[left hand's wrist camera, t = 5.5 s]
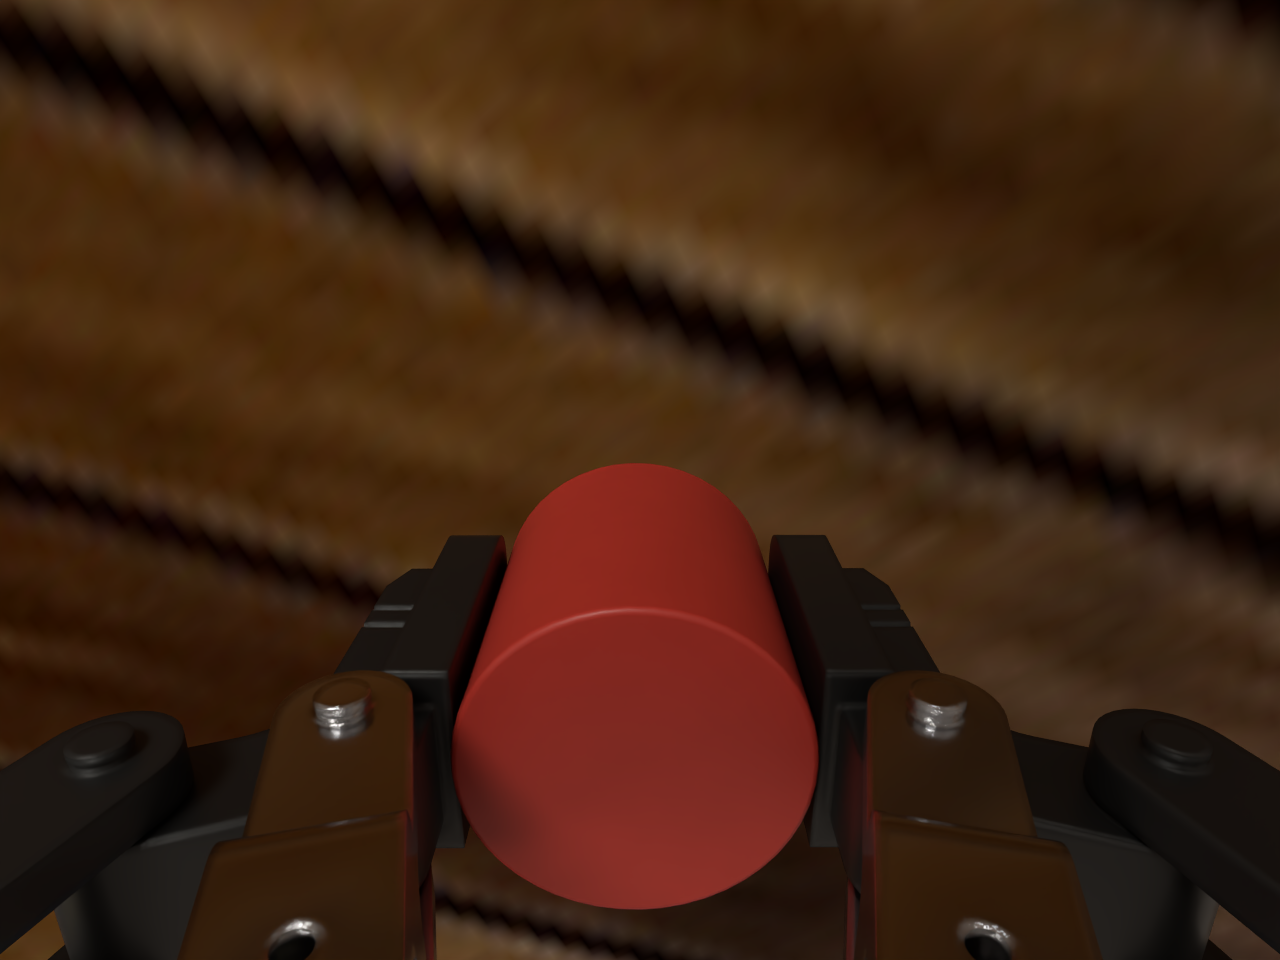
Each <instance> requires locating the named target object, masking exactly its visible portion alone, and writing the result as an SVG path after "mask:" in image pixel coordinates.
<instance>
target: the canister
mask: <svg viewBox="0 0 1280 960" xmlns="http://www.w3.org/2000/svg"><path fill="white" fill-rule="evenodd" d="M450 754H451V771H452V777H453V781H454V786H455V791H456V794H457V797H458V800H459V802H460V805H461V807H462V810H463V812H464V815H465V816H466V818H467V820H468V822H469V823H470V825H471V827H472V829H473V831H474V832H475V833H476V835H477V836H478V837H479V838H480V840H481V841H482V842H483V844H484V845H485V846H486V847H487V848H488V849H489V850H490V851H491V852H492V853H493V854H494V855H495V856H496V857H497V858H498V859H499V860H500V861H501V862H502V863H503V864H504V865H506V866H507V867H508V868H510V869H511V870H512V871H513V872H515V873H516V874H517V875H519V876H521V877H522V878H524V879H526V880H527V881H529V882H530V883H532V884H534V885H536V886H538V887H540V888H542V889H544V890H546V891H548V892H551V893H553V894H555V895H558V896H561V897H564V898H567V899H570V900H573V901H576V902H580V903H585V904H589V905H593V906H598V907H607V908H615V909H639V910H642V909H655V908H665V907H671V906H677V905H682V904H687V903H690V902H694V901H697V900H701V899H704V898H707V897H710V896H712V895H715V894H717V893H720V892H722V891H725V890H727V889H729V888H731V887H732V886H734V885H736V884H738V883H740V882H742V881H744V880H745V879H747V878H748V877H750V876H751V875H753V874H754V873H755V872H757V871H758V870H760V869H761V868H763V867H764V866H765V865H766V864H767V863H768V862H769V861H770V860H771V859H773V858H774V857H775V856H776V855H777V854H778V853H779V852H780V851H781V850H782V848H783V847H784V846H785V845H786V844H787V843H788V841H789V840H790V839H791V838H792V836H793V835H794V833H795V832H796V830H797V829H798V827H799V826H800V824H801V822H802V821H803V818H804V816H805V814H806V812H807V810H808V808H809V805H810V803H811V800H812V796H813V793H814V790H815V786H816V783H817V776H818V768H819V742H818V736H817V731H816V726H815V722H814V718H813V715H812V712H811V709H810V706H809V703H808V699H807V696H806V693H805V690H804V687H803V684H802V680H801V677H800V674H799V671H798V668H797V665H796V661H795V658H794V655H793V652H792V649H791V646H790V642H789V639H788V636H787V633H786V630H785V627H784V623H783V620H782V617H781V614H780V611H779V608H778V604H777V601H776V598H775V595H774V592H773V589H772V585H771V582H770V579H769V576H768V573H767V570H766V566H765V563H764V560H763V557H762V554H761V551H760V548H759V545H758V542H757V539H756V537H755V534H754V532H753V531H752V529H751V527H750V525H749V523H748V521H747V520H746V519H745V517H744V516H743V514H742V513H741V512H740V510H739V509H738V508H737V507H736V506H735V505H734V504H733V503H732V502H731V501H730V500H729V499H728V498H727V497H726V496H725V495H724V494H722V493H721V492H720V491H719V490H717V489H716V488H715V487H714V486H712V485H710V484H708V483H707V482H705V481H703V480H702V479H700V478H698V477H696V476H693V475H691V474H689V473H686V472H684V471H681V470H677V469H674V468H670V467H667V466H660V465H654V464H639V463H629V464H619V465H612V466H607V467H603V468H598V469H595V470H592V471H589V472H587V473H584V474H581V475H579V476H577V477H575V478H573V479H571V480H569V481H567V482H565V483H564V484H562V485H561V486H560V487H558V488H557V489H555V490H554V491H552V492H551V493H550V494H549V495H548V496H547V497H546V498H544V499H543V500H542V501H541V502H540V503H539V504H538V505H537V507H536V508H535V509H534V510H533V511H532V513H531V514H530V515H529V517H528V518H527V520H526V521H525V523H524V525H523V526H522V528H521V530H520V532H519V534H518V537H517V539H516V541H515V544H514V547H513V550H512V553H511V556H510V559H509V562H508V565H507V568H506V571H505V574H504V577H503V580H502V583H501V586H500V589H499V592H498V594H497V597H496V600H495V603H494V606H493V609H492V612H491V615H490V618H489V621H488V624H487V627H486V630H485V633H484V636H483V639H482V642H481V645H480V648H479V651H478V654H477V657H476V660H475V663H474V666H473V669H472V672H471V675H470V678H469V681H468V684H467V687H466V690H465V693H464V696H463V699H462V702H461V705H460V708H459V711H458V714H457V718H456V722H455V725H454V729H453V733H452V743H451V752H450Z"/></svg>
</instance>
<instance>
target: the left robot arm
mask: <svg viewBox="0 0 1280 960" xmlns="http://www.w3.org/2000/svg"><path fill="white" fill-rule="evenodd" d="M506 568H507V557H506V547H505V541H504V538H503V536H501V535H453V536H450V537H449V538H448V540H447V542H446V544H445V546H444V548H443V550H442V552H441V554H440V556H439V558H438V560H437V562H436V563H435V565H434V567H433V569H411V570H410V571H408V572H407V573H405V574H404V575H402V576H401V577H399V578H398V579H396V580H395V581H393V582H392V583H391V584H389V585H388V586H387V587H386V588H385V590H384V591H383V593H382V595H381V596H380V598H379V600H378V601H377V603H376V605H375V609H374V610H372V611H371V613H370V615H369V616H368V618H367V620H366V621H365V623H364V627H362V628H361V630H360V631H359V633H358V634H357V636H356V638H355V639H354V641H353V643H352V644H351V646H350V648H349V649H348V651H347V653H346V654H345V656H344V658H343V659H342V661H341V663H340V664H339V666H338V668H337V669H336V671H335V672H334V674H333V675H329V676H325V677H323V678H320V679H317V680H314V681H312V682H310V683H308V684H306V685H304V686H302V687H301V688H299V689H297V690H296V691H294V692H293V693H292V694H290V695H289V696H288V697H287V698H286V699H285V700H284V701H283V702H282V703H281V704H280V705H279V707H278V708H277V709H276V711H275V714H274V716H273V719H272V723H271V727H270V729H268V730H265V731H262V732H259V733H255V734H252V735H248V736H244V737H239V738H234V739H229V740H224V741H219V742H214V743H209V744H204V745H199V746H194V747H189V748H188V747H187V743H186V738H185V734H184V730H183V727H182V725H181V724H180V722H179V721H178V720H177V719H175V718H174V717H172V716H170V715H167V714H164V713H160V712H154V711H132V712H124V713H117V714H113V715H108V716H104V717H101V718H97V719H94V720H91V721H88V722H86V723H83V724H80V725H78V726H75V727H73V728H71V729H69V730H67V731H65V732H63V733H61V734H59V735H58V736H56V737H54V738H52V739H51V740H49V741H47V742H46V743H44V744H43V745H41V746H39V747H38V748H36V749H35V750H33V751H32V752H30V753H28V754H27V755H25V756H24V757H22V758H20V759H19V760H17V761H16V762H14V763H12V764H11V765H9V766H8V767H6V768H5V769H3V770H1V771H0V954H1V953H2V952H3V951H4V950H6V949H7V948H8V947H9V946H10V945H12V944H13V943H14V942H15V941H17V940H18V939H19V938H20V937H21V936H23V935H24V934H25V933H26V932H28V931H29V930H30V929H31V928H32V927H34V926H35V925H36V924H37V923H39V922H40V921H41V920H42V919H43V918H45V917H46V916H47V915H48V914H49V913H51V912H52V911H53V910H54V912H55V915H56V918H57V921H58V924H59V927H60V930H61V933H62V936H63V939H64V943H65V945H64V946H63V947H62V948H61V949H59V950H58V951H57V952H56V953H55V954H54V955H53V956H51V957H50V958H49V959H48V960H437V955H436V920H435V894H434V885H433V876H432V867H431V862H432V858H433V855H434V852H435V848H464V847H465V843H466V839H467V835H468V831H469V827H470V823H469V822H468V820H467V818H466V816H465V815H464V812H463V810H462V807H461V805H460V802H459V800H458V797H457V794H456V791H455V786H454V781H453V777H452V771H451V754H450V752H451V743H452V733H453V729H454V725H455V722H456V718H457V714H458V711H459V708H460V705H461V702H462V699H463V696H464V693H465V690H466V687H467V684H468V681H469V678H470V675H471V672H472V669H473V666H474V663H475V660H476V657H477V654H478V651H479V648H480V645H481V642H482V639H483V636H484V633H485V630H486V627H487V624H488V621H489V618H490V615H491V612H492V609H493V606H494V603H495V600H496V597H497V594H498V592H499V589H500V586H501V583H502V580H503V577H504V574H505V571H506ZM768 576H769V579H770V582H771V585H772V589H773V592H774V595H775V598H776V601H777V604H778V608H779V611H780V614H781V617H782V620H783V623H784V627H785V630H786V633H787V636H788V639H789V642H790V646H791V649H792V652H793V655H794V658H795V661H796V665H797V668H798V671H799V674H800V677H801V680H802V684H803V687H804V690H805V693H806V696H807V699H808V703H809V706H810V709H811V712H812V715H813V718H814V722H815V726H816V731H817V736H818V742H819V768H818V776H817V783H816V786H815V790H814V793H813V796H812V800H811V803H810V805H809V808H808V810H807V812H806V814H805V816H804V818H803V820H804V824H805V828H806V832H807V836H808V840H809V844H810V847H839V851H840V854H841V858H842V861H843V865H844V868H845V871H846V873H847V885H846V894H845V920H844V955H843V960H1232V959H1231V958H1230V957H1229V956H1227V955H1226V954H1225V953H1224V952H1223V951H1222V950H1221V949H1219V948H1218V947H1217V946H1216V945H1215V944H1214V943H1213V942H1211V941H1210V940H1209V939H1208V938H1209V935H1210V932H1211V929H1212V926H1213V923H1214V919H1215V916H1216V913H1217V910H1218V907H1219V904H1220V905H1221V906H1222V907H1223V908H1224V909H1226V910H1227V911H1228V912H1229V913H1230V914H1232V915H1233V916H1234V917H1235V918H1237V919H1238V920H1239V921H1240V922H1241V923H1243V924H1244V925H1245V926H1246V927H1248V928H1249V929H1250V930H1251V931H1252V932H1254V933H1255V934H1256V935H1257V936H1259V937H1260V938H1261V939H1262V940H1263V941H1265V942H1266V943H1267V944H1268V945H1269V946H1271V947H1272V948H1273V949H1274V950H1276V951H1277V952H1278V953H1279V954H1280V771H1279V770H1277V769H1275V768H1274V767H1272V766H1271V765H1269V764H1267V763H1266V762H1264V761H1263V760H1261V759H1260V758H1258V757H1256V756H1255V755H1253V754H1252V753H1250V752H1248V751H1247V750H1245V749H1244V748H1242V747H1240V746H1239V745H1237V744H1236V743H1234V742H1233V741H1231V740H1229V739H1228V738H1226V737H1225V736H1223V735H1221V734H1219V733H1218V732H1216V731H1214V730H1212V729H1210V728H1208V727H1206V726H1204V725H1202V724H1199V723H1197V722H1194V721H1191V720H1189V719H1186V718H1183V717H1180V716H1176V715H1173V714H1169V713H1164V712H1160V711H1154V710H1147V709H1122V710H1117V711H1112V712H1110V713H1107V714H1105V715H1103V716H1102V717H1100V718H1099V719H1098V720H1097V721H1096V723H1095V724H1094V727H1093V731H1092V735H1091V740H1090V744H1089V747H1084V746H1079V745H1074V744H1069V743H1064V742H1059V741H1054V740H1049V739H1044V738H1039V737H1034V736H1030V735H1025V734H1021V733H1018V732H1015V731H1012V730H1010V727H1009V723H1008V719H1007V716H1006V714H1005V711H1004V709H1003V708H1002V707H1001V705H1000V704H999V703H998V702H997V701H996V700H995V699H994V698H993V697H992V696H991V695H990V694H988V693H987V692H986V691H984V690H983V689H981V688H979V687H978V686H976V685H974V684H972V683H970V682H968V681H966V680H963V679H960V678H957V677H955V676H951V675H947V674H944V673H940V672H939V670H938V668H937V666H936V665H935V663H934V661H933V660H932V658H931V656H930V655H929V653H928V651H927V650H926V648H925V646H924V645H923V643H922V641H921V640H920V638H919V636H918V634H917V633H916V631H915V629H914V628H913V627H911V626H910V621H909V619H908V618H907V616H906V614H905V613H904V611H903V610H901V609H900V604H899V603H898V601H897V599H896V597H895V596H894V594H893V592H892V591H891V589H890V587H889V586H888V585H887V584H885V583H884V582H883V581H881V580H880V579H878V578H877V577H875V576H874V575H872V574H871V573H869V572H868V571H867V570H865V569H864V568H842V567H841V565H840V563H839V561H838V559H837V557H836V555H835V553H834V551H833V549H832V547H831V545H830V543H829V541H828V539H827V537H826V536H825V535H773V537H772V540H771V544H770V553H769V569H768Z"/></svg>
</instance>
